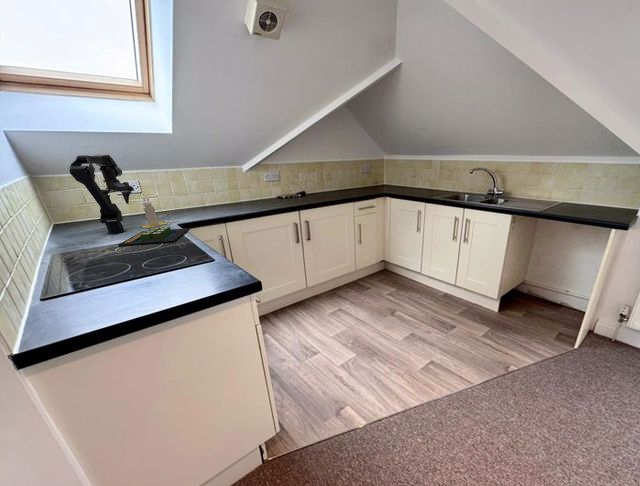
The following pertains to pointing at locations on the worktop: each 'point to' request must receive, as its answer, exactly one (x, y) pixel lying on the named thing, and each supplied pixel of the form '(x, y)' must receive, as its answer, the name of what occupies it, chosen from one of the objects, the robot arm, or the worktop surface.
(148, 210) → the toy rabbit
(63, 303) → the worktop surface
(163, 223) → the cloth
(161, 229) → the sushi
